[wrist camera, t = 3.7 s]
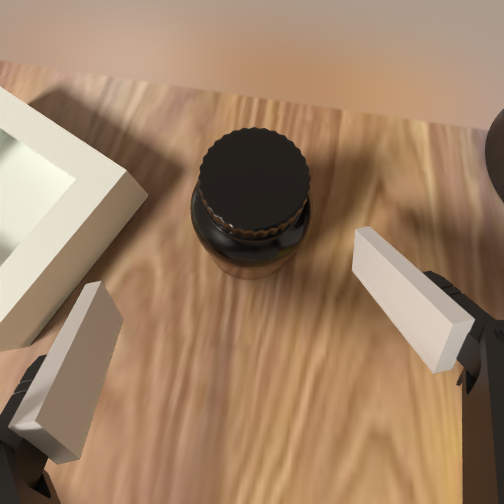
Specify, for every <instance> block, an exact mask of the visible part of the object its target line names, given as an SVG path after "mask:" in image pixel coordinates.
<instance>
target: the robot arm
mask: <svg viewBox="0 0 504 504" xmlns="http://www.w3.org/2000/svg"><path fill="white" fill-rule="evenodd" d="M485 156H486V164H487V169H488V173H489V176H490V179H491V181H492V183H493V186H494V188H495V190H496V191H497V193H498V195H499V196H500V198H501V199H502V201H503V202H504V109H503V110H502V111H501V112H500V113H499V114H498V116H497V117H496V118H495V120H494V121H493V123H492V125H491V127H490V129H489V132H488V135H487V140H486V147H485ZM352 271H353V272H354V274H355V275H356V276H357V278H358V279H359V280H360V281H361V283H362V284H363V285H364V286H365V288H366V289H367V290H368V292H369V293H370V294H371V295H372V297H373V298H374V299H375V300H376V302H377V303H378V304H379V306H380V307H381V308H382V309H383V311H384V312H385V313H386V314H387V316H388V317H389V318H390V320H391V321H392V322H393V323H394V325H395V326H396V327H397V328H398V330H399V331H400V332H401V334H402V335H403V336H404V337H405V339H406V340H407V341H408V342H409V344H410V345H411V346H412V348H413V349H414V350H415V351H416V353H417V354H418V355H419V356H420V358H421V359H422V360H423V362H424V363H425V364H426V365H427V367H428V368H429V369H430V370H431V372H432V373H433V374H435V373H439V372H443V371H447V370H452V369H453V367H454V364H455V362H456V360H458V361H459V362H460V363H461V365H462V366H463V367H464V369H463V371H462V373H461V375H460V377H459V379H458V381H457V384H456V385H458V386H460V385H461V383H462V458H463V504H504V321H503V320H495V319H494V318H492V317H491V316H490V315H489V314H488V313H486V312H485V311H484V310H483V309H482V308H480V307H479V306H478V305H477V304H475V303H474V302H473V301H472V300H471V299H469V298H468V297H467V296H466V295H465V294H462V293H461V291H460V290H458V289H457V288H456V287H453V285H452V284H451V283H450V282H449V281H448V280H446V279H445V278H444V277H442V276H440V275H438V274H436V273H434V272H432V271H427V272H421V271H420V270H419V269H417V268H416V267H415V266H414V265H413V264H412V263H411V262H409V261H408V260H407V259H406V258H405V257H404V256H403V255H402V254H400V253H399V252H398V251H397V250H396V249H395V248H394V247H392V246H391V245H390V244H389V243H388V242H387V241H386V240H385V239H383V238H382V237H381V236H380V235H379V234H378V233H377V232H375V231H374V230H373V229H372V228H371V227H370V226H368V227H363V228H358V229H355V241H354V252H353V264H352ZM122 322H123V317H122V316H121V314H120V312H119V310H118V309H117V307H116V305H115V303H114V302H113V300H112V298H111V296H110V295H109V293H108V291H107V289H106V288H105V286H104V284H103V282H102V281H98V282H93V283H88V284H86V285H85V286H84V288H83V290H82V292H81V294H80V296H79V297H78V299H77V301H76V303H75V305H74V307H73V308H72V310H71V312H70V314H69V316H68V318H67V319H66V321H65V323H64V325H63V327H62V329H61V330H60V332H59V334H58V336H57V338H56V340H55V341H54V343H53V345H52V347H51V349H50V351H49V352H48V354H47V355H42V356H39V357H38V358H37V359H36V360H35V361H34V362H33V363H32V365H31V366H30V367H29V368H28V369H27V370H26V372H25V374H24V376H23V377H22V379H21V381H20V384H18V386H17V388H16V389H15V391H14V395H12V396H11V398H10V399H9V401H8V403H7V405H6V406H5V408H4V410H3V411H2V413H1V415H0V504H61V503H60V501H59V499H58V496H57V494H56V491H55V489H54V486H53V484H52V482H51V479H50V477H49V474H48V473H47V472H46V471H45V470H44V467H45V465H46V462H47V460H48V458H49V459H51V460H52V461H53V462H55V463H56V464H62V463H66V462H70V461H74V460H78V459H80V457H81V454H82V451H83V447H84V444H85V441H86V438H87V435H88V431H89V428H90V425H91V422H92V419H93V415H94V412H95V409H96V406H97V403H98V399H99V396H100V393H101V390H102V386H103V383H104V380H105V377H106V374H107V370H108V367H109V364H110V361H111V358H112V354H113V351H114V348H115V345H116V342H117V338H118V335H119V332H120V329H121V325H122Z"/></svg>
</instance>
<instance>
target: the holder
mask: <svg viewBox="0 0 504 504" xmlns="http://www.w3.org/2000/svg"><path fill="white" fill-rule="evenodd" d="M148 196H149V195H148V194H147V193H146V191H145V190H144V189H143V188H142V187H141V186H140V185H139V184H138V182H137V181H136V180H135V179H134V178H133V177H132V176H131V174H130V173H129V172H128V171H127V170H126V169H124V168H123V167H121V166H120V165H118V164H116V163H115V162H113V161H112V160H110V159H109V158H107V157H106V156H104V155H103V154H101V153H100V152H98V151H97V150H95V149H94V148H92V147H91V146H89V145H88V144H86V143H85V142H83V141H82V140H80V139H79V138H77V137H76V136H74V135H73V134H71V133H70V132H68V131H67V130H65V129H63V128H62V127H60V126H59V125H57V124H56V123H54V122H53V121H51V120H50V119H48V118H47V117H45V116H44V115H42V114H41V113H39V112H38V111H36V110H35V109H33V108H32V107H30V106H29V105H27V104H26V103H24V102H23V101H21V100H20V99H18V98H17V97H15V96H14V95H12V94H10V93H9V92H7V91H6V90H4V89H3V88H1V87H0V352H2V351H7V350H12V349H18V348H23V347H28V346H30V344H31V343H32V342H33V341H34V339H35V338H36V337H37V336H38V334H39V333H40V332H41V331H42V329H43V328H44V327H45V326H46V324H47V323H48V322H49V321H50V319H51V318H52V317H53V316H54V314H55V313H56V312H57V311H58V309H59V308H60V307H61V305H62V304H63V303H64V302H65V300H66V299H67V298H68V297H69V295H70V294H71V293H72V292H73V290H74V289H75V288H76V287H77V285H78V284H79V283H80V282H81V280H82V279H83V278H84V277H85V275H86V274H87V273H88V272H89V270H90V269H91V268H92V267H93V265H94V264H95V263H96V261H97V260H98V259H99V258H100V256H101V255H102V254H103V253H104V251H105V250H106V249H107V248H108V246H109V245H110V244H111V243H112V241H113V240H114V239H115V238H116V236H117V235H118V234H119V233H120V231H121V230H122V229H123V228H124V226H125V225H126V224H127V223H128V221H129V220H130V219H131V218H132V216H133V215H134V214H135V212H136V211H137V210H138V209H139V207H140V206H141V205H142V204H143V202H144V201H145V200H146V199H147V197H148Z"/></svg>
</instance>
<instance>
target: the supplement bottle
mask: <svg viewBox="0 0 504 504" xmlns="http://www.w3.org/2000/svg"><path fill="white" fill-rule="evenodd" d="M308 172H309V167H308V166H307V164H306V159H305V157H304V156H302V154H301V151H300V149H299V148H297V147H295V145H294V143H293V142H292V141H290V140H288V139H287V138H286V137H285V136H284V135H280V134H278V133H277V132H276V131H269V130H268V129H266V128H261V129H259V128H256V127H253V128H250V129H247V128H243V129H241V130H234V131H232V132H231V133H230V134H226V135H224V136H223V137H222V138H221V139H219V140H217V141H215V143H214V145H213V146H212V147H210V148H209V149H208V153H207V154H206V155H205V156H204V157H203V163H202V165H201V166H200V174H199V177H198V181H197V183H196V185H195V188H194V190H193V194H192V198H191V207H190V210H191V220H192V224H193V227H194V230H195V232H196V235H197V237H198V239H199V240H200V242H201V244H202V245H203V246H204V248H205V249H206V251H207V252H208V253H209V255H210V256H211V258H212V259H213V260H214V262H215V263H216V264H217V265H218V267H219V268H220V269H222V270H223V271H224V272H225V273H227V274H229V275H231V276H233V277H235V278H239V279H244V280H255V279H260V278H263V277H266V276H268V275H270V274H271V273H273V272H274V271H276V270H277V269H278V268H279V267H280V266H281V265H282V264H283V263H284V262H286V261H287V260H288V259H289V258H290V257H291V256H292V255H293V254H294V253H295V252H296V251H297V249H298V248H299V247H300V246H301V244H302V243H303V242H304V240H305V238H306V236H307V234H308V232H309V230H310V227H311V223H312V218H313V202H312V197H311V193H310V185H309V182H310V179H311V178H310V175H309V173H308Z"/></svg>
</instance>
